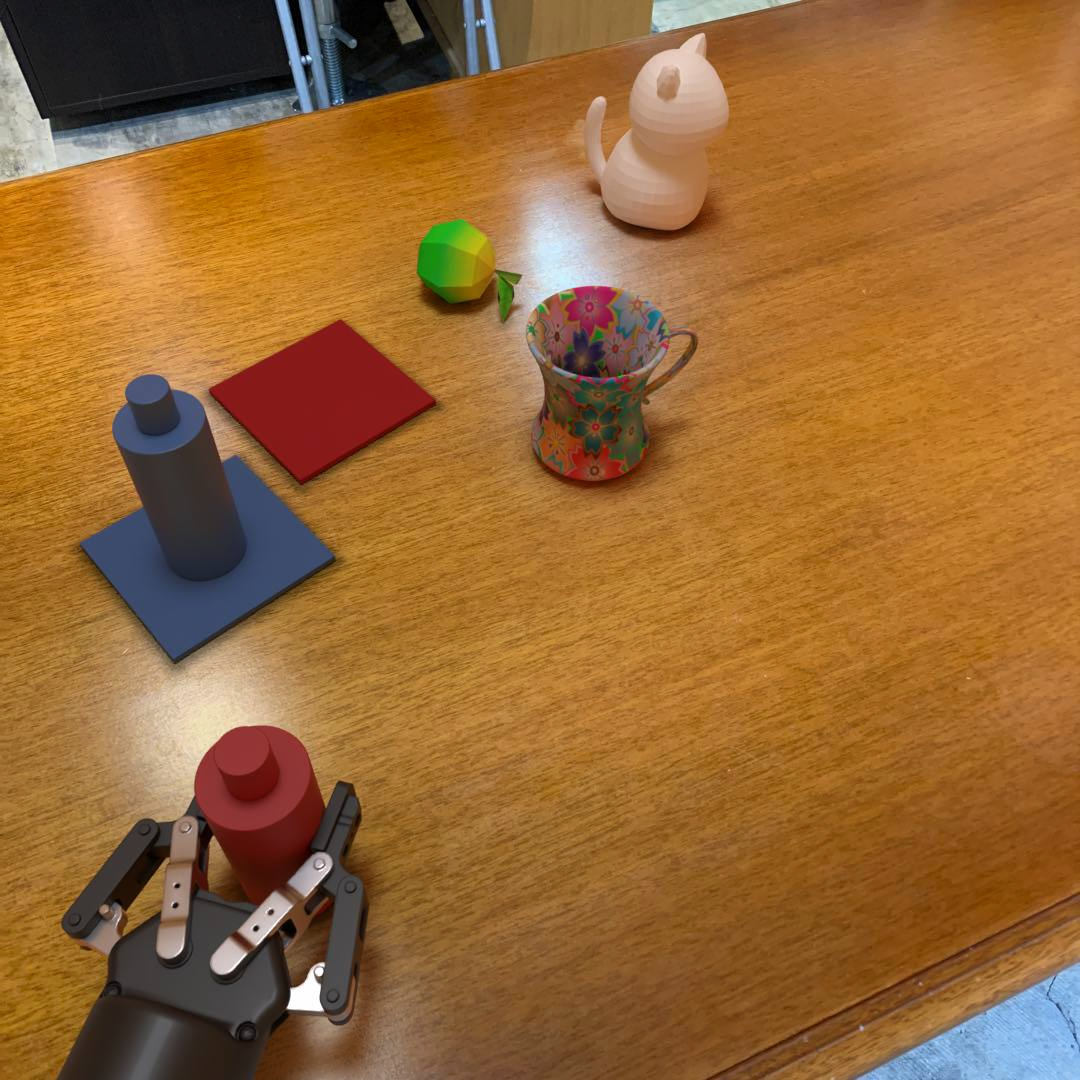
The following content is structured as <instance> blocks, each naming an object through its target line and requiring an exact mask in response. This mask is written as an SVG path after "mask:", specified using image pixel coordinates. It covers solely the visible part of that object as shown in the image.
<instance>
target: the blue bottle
mask: <svg viewBox="0 0 1080 1080" xmlns="http://www.w3.org/2000/svg"><path fill="white" fill-rule="evenodd" d="M124 396H125V399H126V403H125V404H123V405H122V407H121V408H120V409H119V410H118V411H117V413H116V414H115V416H114V417H113V421H112V424H111V432H112V433H111V434H112V436H113V439H114V442H115V444H116V447H117V448H118V451H119V453H120V456H121V458H122V460H123V462H124V464H125V467H126V470H127V472H128V475H129V476H130V479H131V481H132V483H133V484H132V485H134V488H135V491H136V493H137V495H138V498H139V500H140V502H141V505H142V507H144V509H145V512H146V514H147V516H148V519H149V521H150V523H151V526H152V528H153V530H154V533H155V535H156V537H157V540H158V542H159V544H160V547H161V549H162V551H163V554H164V556H165V559H166V561H167V563H168V565H169V567H170V568H171V570H172V571H173V572H175V573H176V574H177V575H179V576H181V577H183V578H186V579H190V580H197V581H202V580H210V579H214V578H217V577H220V576H222V575H224V574H226V573H228V572H229V571H231V570H232V569H233V568H234V567H236V566H237V565H238V563H239V562H240V561H241V559H242V558H243V556H244V554H245V551H246V546H247V541H246V536H245V533H244V530H243V527H242V524H241V521H240V518H239V515H238V512H237V508H236V505H235V502H234V499H233V496H232V493H231V490H230V487H229V484H228V481H227V477H226V474H225V471H224V468H223V465H222V462H223V461H222V459H221V456H220V452H219V450H218V447H217V443H216V440H215V438H214V434H213V432H212V429H211V425H210V421H209V418H208V415H207V412H206V409H205V407H204V405H203V404H202V402H201V401H200V400H199V398H197V397H196V396H194V395H193V394H191V393H189V392H187V391H183V390H179V389H173V388H171V386H170V383H169V381H168V380H167V379H166V378H165V377H163V376H162V375H159V374H154V373H148V374H143V375H140V376H137V377H135V378H133V379H132V380H130V381H129V383H128V384H127V385H126V387H125V390H124Z"/></svg>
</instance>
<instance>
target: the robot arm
mask: <svg viewBox="0 0 1080 1080" xmlns="http://www.w3.org/2000/svg"><path fill="white" fill-rule="evenodd" d="M325 807H326V810H325V812H324V814H323V817H322V819H321V822H320V825H319V827H318V830H317V831H316V834H315V836H314V838H313V841H312V843H311V846H310V848H311V851H312V853H313V855H312V856H310V857H309V859H308V860H307V861H306V862H305V863H304V864H303V865H302V866H301V867H300V868H299V870H298V871H297V872H296V873H295V874H294V875H293V876H292V877H291V878H290V879H289V881H288V882H287V883H286V884H284V885H281V886H279V887H277V888H276V889H275V890H274V891H273V892H272V893H271V894H270V895H269V896H268V897H267V899H266V900H265V901H264V902H263V903H262V904H261V905H260V906H259V905H256V904H252V903H251V902H248V901H228V900H227V899H225V898H223V897H221V896H220V895H219V894H218V893H215V892H214V891H213V892H212V891H210V886H209V863H210V849H211V843H210V842H211V840H212V838H213V837H215V836H214V834H213V832H212V830H211V828H210V827H209V825H208V823H207V821H206V819H205V817H204V816H203V814H202V812H201V810H200V808H199V806H198V804H197V801H196V798H195V794H193V797H192V799H191V801H190V804H189V805H188V807H187V809H186V811H185V812H184V813H183V815H182V816H180V817H179V818H178V819H175V820H171V821H170V820H169V821H161V822H157V821H156V820H155V819H153V818H150V817H145V818H141V819H139V820H138V821H137V822H136V823H134V825H133V826H132V827H131V829H130V830H129V832H127V834H126V835H125V837H124V838H123V839H122V840H121V841H120V843H119V844H118V845H117V847H116V848H115V849H114V850H113V852H112V853H111V854H110V855H109V857H108V858H107V859H106V861H104V863H103V865H102V866H101V867H100V868H99V870H98V871H97V872H96V873H95V875H94V876H93V877H92V879H90V881H89V882H88V884H87V885H86V886H85V887H84V888H83V890H82V891H81V893H79V895H78V896H77V898H76V899H75V900H74V902H73V903H72V904H71V905H70V906H69V908H68V909H67V910H66V912H65V913H64V915H62V918H61V923H60V924H61V925H60V926H61V929H62V930H63V932H64V933H66V934H67V936H68V938H70V940H72V942H74V944H75V945H77V946H79V947H80V948H81V950H83V951H86V952H87V951H88V952H90V951H94V952H96V953H98V954H99V955H100V956H102V957H104V958H105V959H107V974H106V980H105V984H104V987H103V989H102V991H101V992H100V994H99V995H98V997H97V998H96V999H95V1001H94V1003H93V1004H92V1006H91V1009H90V1011H89V1013H88V1015H87V1017H86V1019H85V1021H84V1023H83V1025H82V1027H81V1029H80V1030H79V1033H78V1034H77V1036H76V1039H75V1041H74V1043H73V1045H72V1047H71V1049H70V1051H69V1052H68V1055H67V1056H66V1059H65V1060H64V1063H63V1065H62V1067H61V1069H60V1071H59V1073H58V1075H57V1076H56V1079H55V1080H254V1078H255V1076H256V1074H257V1071H258V1069H259V1066H260V1064H261V1061H262V1059H263V1056H264V1053H265V1050H266V1048H267V1045H268V1043H269V1041H270V1040H271V1038H272V1036H273V1035H274V1034H275V1032H276V1031H277V1030H278V1029H279V1028H280V1027H282V1025H283V1024H285V1023H286V1022H287V1021H288V1019H289V1017H291V1016H298V1017H299V1016H301V1017H303V1016H304V1017H319V1018H320V1017H321V1018H327V1019H328V1021H329V1023H330V1024H331V1025H334V1026H336V1027H337V1026H338V1027H340V1026H345V1025H346V1024H348V1023H349V1022H351V1020H352V1019H353V1017H354V1013H355V1007H356V1000H357V995H358V994H357V993H358V987H359V980H360V974H361V973H360V972H361V966H362V961H363V954H364V947H365V940H366V933H367V927H368V920H369V912H370V906H371V905H370V900H369V897H368V893H367V891H366V887H365V884H364V881H363V879H362V878H361V877H360V876H358V875H356V874H353V873H352V874H351V873H350V872H349V871H348V870H347V869H345V864H346V860H348V859H347V858H348V856H349V854H350V852H351V848H352V846H353V844H354V840H355V838H356V836H357V833H358V830H359V828H360V825H361V823H362V820H363V811H362V810H363V809H362V805H361V801H360V798H359V796H357V793H356V789H355V785H354V783H351V782H348V781H344V780H340V779H339V780H338V781H337V782H336V783H335V786H334V787H333V790H332V793H331V795H330V798H329V800H328V802H327V805H326V806H325ZM167 858H169V862H168V863H167V864H166V866H165V871H164V882H163V891H162V900H161V901H162V902H161V910H159V911H158V912H156V913H155V914H153V915H152V916H151V917H149V918H148V919H146V920H145V921H143V922H141V923H140V924H139V925H137V926H136V927H134V928H133V929H131V930H130V931H129V932H127V933H125V934H124V930H125V928H126V927H127V925H128V921H129V915H128V913H127V911H128V910H129V908H130V907H131V906H132V905H133V904H134V902H135V900H136V899H137V898H138V896H140V894H141V892H142V891H143V890H144V888H145V887H146V886H147V884H148V883H149V882H150V880H151V879H152V878H153V876H154V875H155V874H156V873H157V871H158V870H159V869H160V867H161V866H162V864H163V863H164V862H165V861H166V859H167ZM328 899H330V900H331V901H332V903H334V905H333V913H332V919H331V924H330V930H329V936H328V942H327V947H326V953H325V958H324V959H325V960H324V962H323V961H322V962H318V963H316V964H314V965H313V966H312V967H311V968H310V969H309V971H308V973H307V977H306V978H305V980H304V981H303V983H301V984H300V985H298V986H296V987H293V983H292V980H291V975H290V971H289V966H288V962H287V957H286V954H287V953H288V952H289V951H290V950H291V948H292V947H294V945H295V944H296V942H298V940H299V939H300V938H301V937H302V936H303V934H304V933H305V932H306V931H307V930H308V928H309V926H310V925H311V921H312V919H314V918H313V916H314V915H315V914H316V913H317V912H318V911H319V910H320V908H321V907H322V906H323V905H324V904H325V903H326V902H327V900H328ZM271 914H272V915H271Z"/></svg>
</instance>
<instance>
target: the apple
mask: <svg viewBox="0 0 1080 1080" xmlns="http://www.w3.org/2000/svg"><path fill="white" fill-rule="evenodd" d="M416 264H417V265H416V274H417V276H418V278H420V280H421V281H422V282H423V284H424V285H425V287H427V288H429V290H431V291H432V292H434V293H436V295H438V296H439V297H441V298H442V299H443V300H445V301H446V302H447V303H448V304H450V305H451V304H456V303H462V302H468V301H473V300H477V299H480V298H481V297H482V295H483V294H484V293H485V290H486V289H487V288H488V286H489V285H490V283H491V282H492V279H493V277H494V275H495V274H496V275H497V286H496V287H497V288H496V290H497V303H498V307H499V312H500V316H501V320H502V324H504V323H505V320H506V318H507V315H508V313H509V310H510V309H511V306H512V304H513V301H514V299H515V288H514V287H515V286H516V285H519V283H520V280H521V279H522V277H523V274H521V273H517V272H516V273H515V272H510V271H505V270H501V269H496V250H495V248H494V246H493V243H492V241H490V239H489V237H488V236H486V235H485V234H484V233H482V232H481V231H480V230H479V229H477V228H476V227H474V226H473V225H472V224H470V223H468V222H467V221H466V220H465V219H464V218H460V219H456V220H451V221H447V222H443V223H437V224H433V225H432V226H431V228H430V229H429V230H428V232H427V233H426V234H425V236H424V237H423V239H422V240H421V241H420V242H419V248H418V252H417V263H416ZM514 285H515V286H514Z"/></svg>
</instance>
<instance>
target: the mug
mask: <svg viewBox="0 0 1080 1080" xmlns="http://www.w3.org/2000/svg"><path fill="white" fill-rule="evenodd" d="M681 335H686V336H689V337H690V342H689V344H688V345H687V347H686V349H685V350H684V352H683V354H682V355H681V356H680V357H679V358H678V359H677V360H676V362H675V363H674V364H673V365H672V366H671V367H670V368H669V369H668V370H667V371H665V372H664V373H663V374H661V375H659V377H657V378H656V379H654V380H653V381H651V382H650V383H648V381H649V380H650V377H651V376H652V374H653V372H654V371H655V369H656V368H657V367H658V366H659V365H660V364H661V362H662V361H663V360H664V358H665V357H666V355H667V353H668V350H669V347H670V342H671V339H672V338H674V337H677V336H681ZM525 339H526V343H527V347H528V349H529V351H530V354H531V355H532V356H533V358H534V359H535V361H536V363H537V365H538V367H539V370H540V372H541V376H542V380H543V389H544V395H543V402H542V407H541V409H540V410H539V411H538V412H537V414H536V415H535V417H534V420H533V422H532V425H531V429H530V439H531V444H532V447H533V449H534V451H535V453H536V455H537V456H538V457H539V459H540V460H541V461H542V462H543V464H545V465H546V466H547V467H549V468H550V469H552V470H553V471H555V472H556V473H558V474H560V475H562V476H565V477H567V478H571V479H574V480H580V481H587V482H591V481H592V482H594V481H595V482H597V481H606V480H611V479H614V478H617V477H620V476H622V475H624V474H627V473H628V472H630V471H632V470H633V469H634V468H636V467H637V466H638V465H639V464H640V463H641V461H643V459H644V458H645V456H646V454H647V453H648V449H649V446H650V442H651V436H650V428H649V426H648V423H647V421H646V418H645V417H644V415H643V409H642V407H643V405H646V406H649V405H650V403H651V401H650V399H649V398H648V396H650V395H651V394H653V393H654V392H656V391H657V390H659V389H661V388H662V387H664V386H665V385H667V384H668V383H669V382H670V381H672V380H673V379H674V378H676V376H677V375H678V374H679V373H680V372H681V371H682V370H683V369H684V368H685V367H686V366H687V365H688V364H689V362H690V361H691V360H692V358H693V357H694V355H695V353H696V352H697V349H698V347H699V336H698V333H697V332H696V331H695V330H694V329H693V328H692V327H691V326H687V325H675V326H672V327H669V325H668V323H667V320H666V318H665V316H664V315H663V314H662V312H661V311H660V310H659V308H657V307H656V306H655V305H654V304H652V303H651V302H650V301H648V300H647V299H646V298H644V297H642V296H640V295H638V294H637V293H633V292H631V291H628V290H625V289H622V288H619V287H613V286H605V285H584V286H576V287H571V288H568V289H565V290H562V291H561V290H560V291H558V292H556V293H554V294H551V295H550V296H548V297H547V298H546V299H544V300H543V301H541V302H540V303H539V304H538V305H537V306H536V307H535V308H534V309H533V311H532V312H531V314H530V316H529V318H528V320H527V322H526V327H525ZM647 383H648V384H647ZM642 404H643V405H642Z"/></svg>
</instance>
